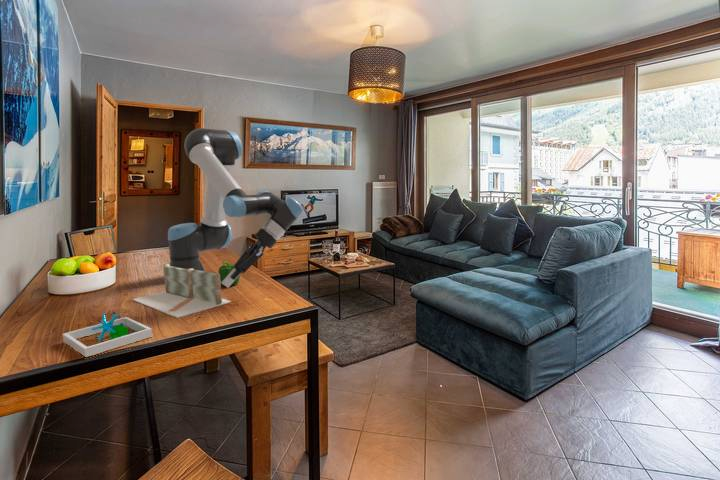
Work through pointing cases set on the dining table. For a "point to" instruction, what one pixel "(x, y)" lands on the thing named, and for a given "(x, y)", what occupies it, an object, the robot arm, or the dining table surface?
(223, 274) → the bell pepper
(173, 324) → the dining table surface
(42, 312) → the dining table surface
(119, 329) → the stick construction toy
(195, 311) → the card
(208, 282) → the folding fence panel
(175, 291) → the fixed fence section
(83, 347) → the grey storage tray
